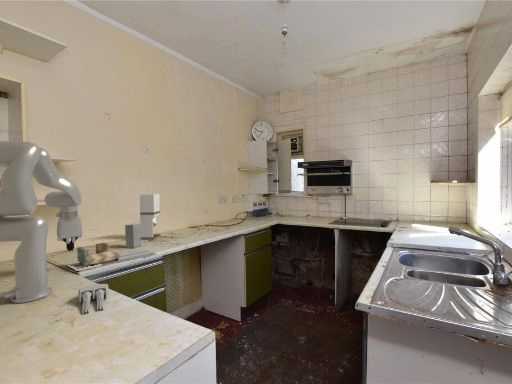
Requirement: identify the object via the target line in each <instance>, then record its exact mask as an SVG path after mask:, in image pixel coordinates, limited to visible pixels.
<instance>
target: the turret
mask: <svg viewBox="0 0 512 384" xmlns="http://www.w3.org/2000/svg"><path fill="white" fill-rule="evenodd" d="M108 296H109V284H108V283H93V284H89V285H86V286H84V287H81V288H78V292H77V298H78V302H79V303H81V302H82V310H81V311H82V315H84V314H89V313H90V309H91V307H90V306H91V302H92V301H93V300H96V311H97V312H99V311H100V312H101V311H102V310H104V309H105V308H104V300H105V299H107V298H108Z"/></svg>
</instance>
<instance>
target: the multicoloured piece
mask: <svg viewBox="0 0 512 384" xmlns="http://www.w3.org/2000/svg"><path fill="white" fill-rule="evenodd" d="M76 249H77V250H76V252H77V262H78V263H79V262H80V263H82V264H84V265H91V266H94V265H95V263H99V262H104V261H108V260H113V259H114V260H115V261H118V258H121V254H122V253H118V252H117V251H116V252H115V251H114V250H108V252H103V253H98V254H96V253H94V254H89V250H88V249H86V248H84V247H82V246H77V248H76Z"/></svg>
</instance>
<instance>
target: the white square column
mask: <svg viewBox="0 0 512 384" xmlns="http://www.w3.org/2000/svg"><path fill="white" fill-rule="evenodd" d="M160 204H161V203H160V193H154V194H153V193H152V194H151V193H150V194H148V193H141V194H139V216H140V217H139V218H140V219H139V221H140V222H139V224H140V230H141V241H155V240H157V239H159V238H161V233H160V234H157V233H155V234H154V228H155V226H156V225H157V217H158V216H160V215H161V209H160V208H161V207H160V206H161V205H160Z"/></svg>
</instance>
